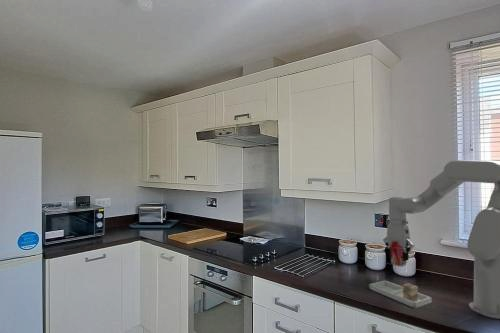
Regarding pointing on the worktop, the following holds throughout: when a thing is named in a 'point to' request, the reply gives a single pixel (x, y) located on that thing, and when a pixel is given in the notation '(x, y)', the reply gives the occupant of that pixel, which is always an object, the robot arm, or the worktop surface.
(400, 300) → the organiser tray
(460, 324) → the worktop surface
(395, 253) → the soda can
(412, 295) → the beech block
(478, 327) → the worktop surface
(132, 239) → the worktop surface
